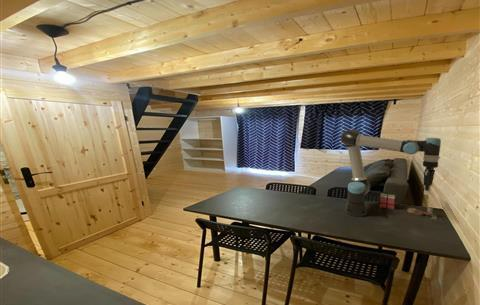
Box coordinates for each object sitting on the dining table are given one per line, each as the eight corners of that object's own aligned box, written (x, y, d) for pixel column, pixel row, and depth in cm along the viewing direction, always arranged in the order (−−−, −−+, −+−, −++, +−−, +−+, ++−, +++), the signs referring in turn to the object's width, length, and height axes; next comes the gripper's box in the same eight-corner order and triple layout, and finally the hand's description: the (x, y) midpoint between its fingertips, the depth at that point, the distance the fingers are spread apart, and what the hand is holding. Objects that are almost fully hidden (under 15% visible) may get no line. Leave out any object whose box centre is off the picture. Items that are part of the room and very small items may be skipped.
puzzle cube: (394, 211, 162) (395, 199, 161) (379, 208, 168) (379, 196, 167) (394, 206, 170) (395, 195, 169) (379, 204, 176) (380, 193, 175)
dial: (407, 213, 154) (407, 205, 153) (407, 209, 161) (408, 201, 160) (432, 218, 145) (433, 210, 144) (431, 213, 152) (432, 205, 151)
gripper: (434, 163, 132) (430, 198, 136) (441, 160, 139) (437, 194, 143) (419, 161, 139) (416, 195, 143) (427, 158, 146) (423, 191, 149)
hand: (426, 194), depth 143 cm, fingers closed
